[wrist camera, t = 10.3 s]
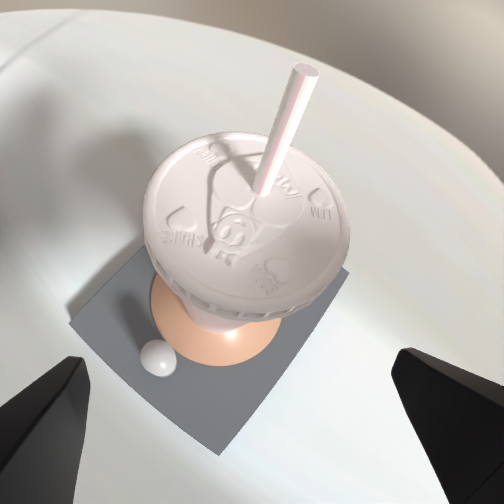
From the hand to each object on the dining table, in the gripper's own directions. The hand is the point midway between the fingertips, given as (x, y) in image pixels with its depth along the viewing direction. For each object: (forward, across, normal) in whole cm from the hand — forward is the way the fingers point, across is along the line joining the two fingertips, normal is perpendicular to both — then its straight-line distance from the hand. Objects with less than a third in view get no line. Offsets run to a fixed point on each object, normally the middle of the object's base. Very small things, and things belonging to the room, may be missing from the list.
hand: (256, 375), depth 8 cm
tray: (+11, 0, +4) cm, 11 cm away
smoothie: (+10, 0, +3) cm, 10 cm away
